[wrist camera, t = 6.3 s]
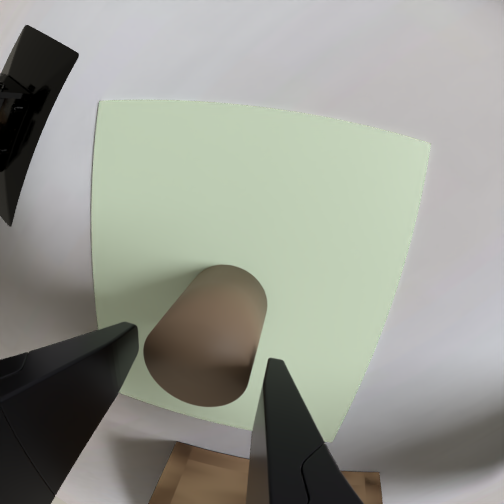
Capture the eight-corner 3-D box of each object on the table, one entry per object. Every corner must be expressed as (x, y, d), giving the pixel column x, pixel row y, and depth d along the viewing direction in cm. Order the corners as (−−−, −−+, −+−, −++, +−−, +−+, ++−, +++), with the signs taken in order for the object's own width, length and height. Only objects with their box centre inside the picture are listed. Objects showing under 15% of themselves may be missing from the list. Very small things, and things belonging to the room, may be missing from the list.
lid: (419, 143, 10) (493, 144, 5) (331, 425, 15) (332, 507, 10) (115, 103, 11) (24, 92, 6) (117, 375, 16) (70, 437, 11)
